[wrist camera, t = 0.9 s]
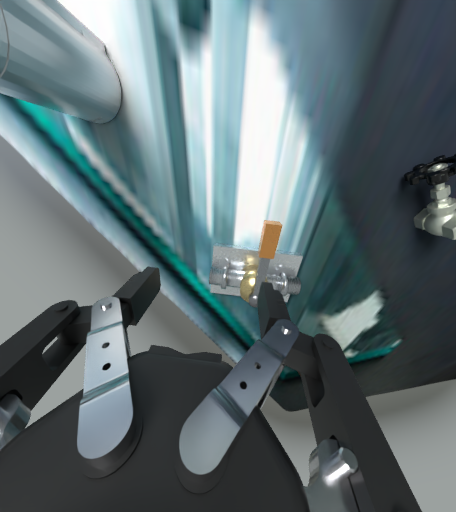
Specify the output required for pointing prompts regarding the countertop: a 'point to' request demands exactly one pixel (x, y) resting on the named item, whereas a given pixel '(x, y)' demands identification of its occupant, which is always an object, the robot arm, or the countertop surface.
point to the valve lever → (265, 255)
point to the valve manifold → (252, 271)
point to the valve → (436, 197)
